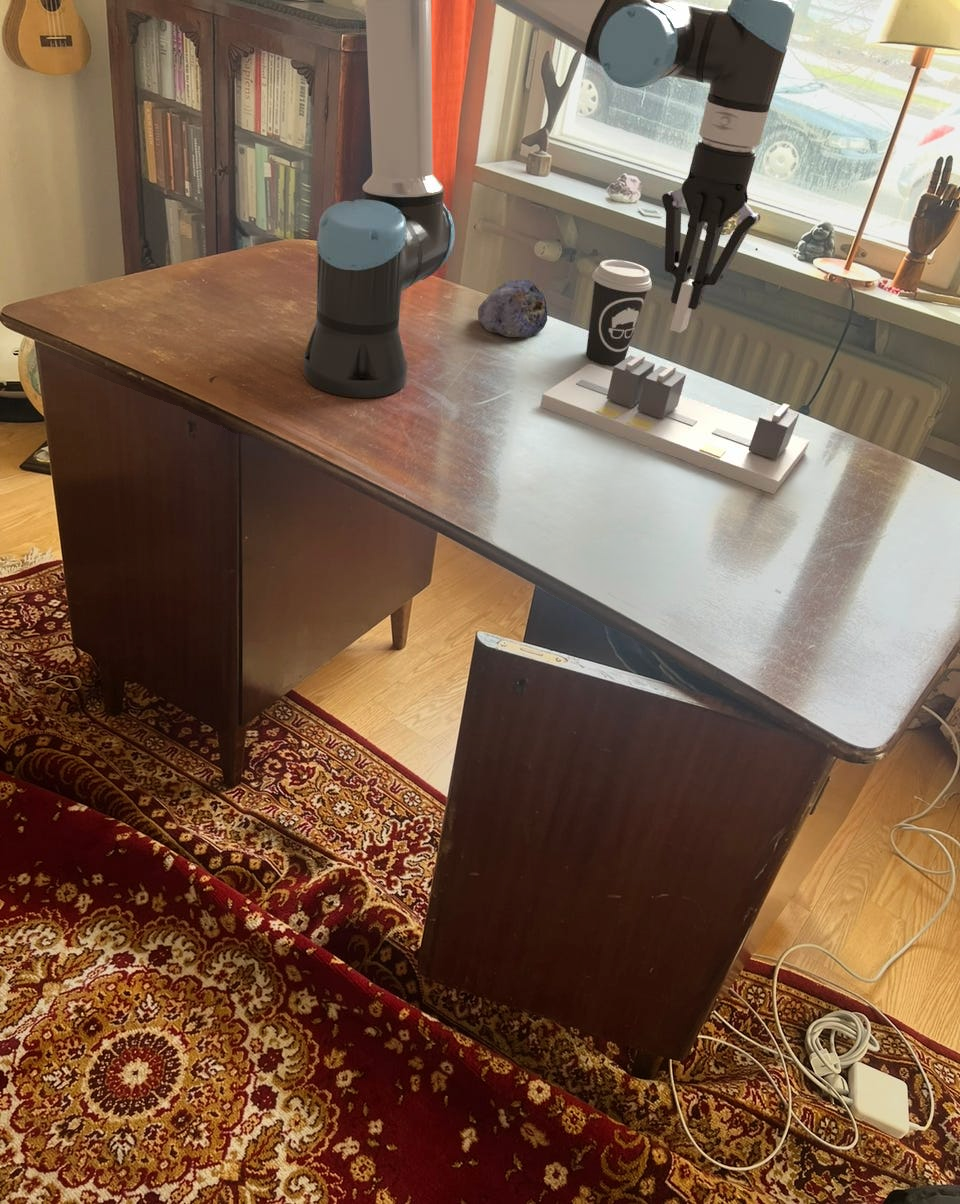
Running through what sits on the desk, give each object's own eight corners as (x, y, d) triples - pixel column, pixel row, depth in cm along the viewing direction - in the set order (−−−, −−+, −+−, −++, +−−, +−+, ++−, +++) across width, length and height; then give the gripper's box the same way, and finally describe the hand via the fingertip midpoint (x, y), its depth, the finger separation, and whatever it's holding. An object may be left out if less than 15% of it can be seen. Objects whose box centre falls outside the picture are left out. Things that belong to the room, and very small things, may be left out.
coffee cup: (638, 355, 157) (659, 267, 148) (626, 375, 150) (648, 283, 141) (584, 342, 159) (602, 253, 150) (570, 360, 152) (588, 268, 143)
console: (540, 406, 136) (542, 392, 135) (587, 375, 148) (589, 362, 146) (773, 494, 124) (779, 480, 122) (805, 452, 135) (810, 439, 134)
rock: (557, 316, 160) (541, 268, 153) (526, 356, 157) (509, 309, 149) (508, 309, 166) (490, 262, 159) (477, 348, 163) (458, 301, 155)
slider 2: (637, 409, 134) (646, 372, 130) (652, 397, 138) (662, 360, 135) (662, 419, 132) (672, 381, 129) (677, 406, 137) (687, 369, 133)
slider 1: (606, 398, 136) (615, 361, 132) (622, 386, 140) (631, 350, 136) (631, 407, 134) (640, 370, 131) (646, 395, 139) (656, 358, 135)
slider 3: (748, 450, 128) (761, 412, 124) (761, 435, 132) (773, 398, 129) (775, 460, 127) (789, 421, 123) (787, 445, 131) (801, 407, 127)
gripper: (667, 135, 114) (625, 321, 128) (769, 160, 109) (713, 350, 123) (689, 129, 119) (646, 308, 133) (786, 152, 114) (731, 336, 129)
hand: (678, 328), depth 128 cm, fingers closed
